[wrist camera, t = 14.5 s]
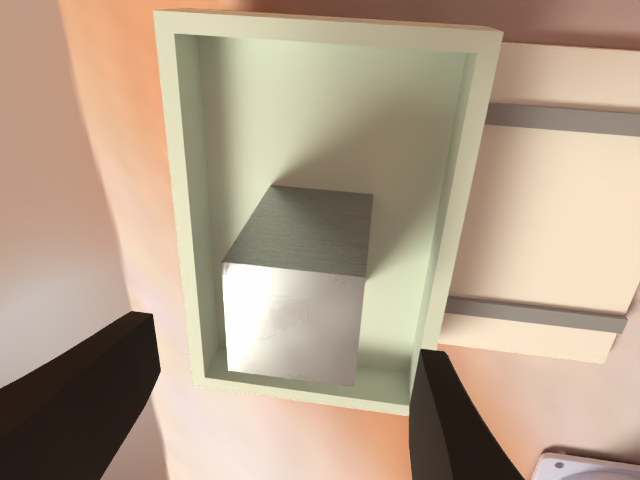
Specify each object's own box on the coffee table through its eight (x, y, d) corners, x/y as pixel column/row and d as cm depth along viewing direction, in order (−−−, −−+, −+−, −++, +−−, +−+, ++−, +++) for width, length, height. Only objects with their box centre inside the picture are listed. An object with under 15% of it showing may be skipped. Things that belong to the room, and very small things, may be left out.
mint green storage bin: (480, 24, 17) (504, 31, 13) (417, 355, 24) (421, 417, 20) (200, 7, 18) (152, 10, 14) (221, 330, 25) (192, 385, 21)
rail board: (726, 55, 17) (743, 58, 16) (599, 355, 23) (606, 368, 23) (213, 23, 19) (206, 25, 18) (228, 309, 25) (223, 320, 24)
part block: (373, 194, 18) (365, 277, 13) (364, 282, 20) (354, 387, 14) (270, 185, 18) (221, 261, 13) (271, 272, 20) (228, 370, 15)
